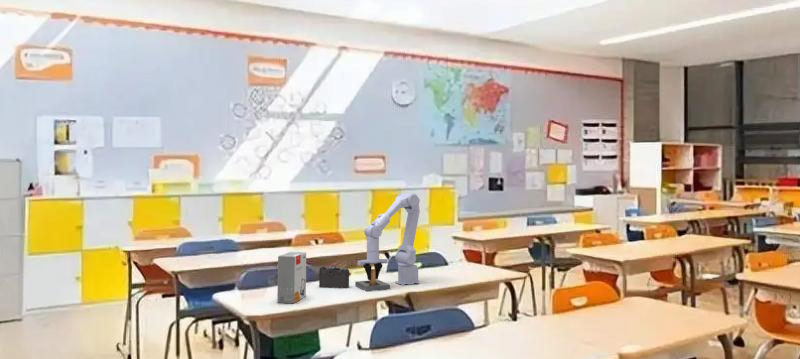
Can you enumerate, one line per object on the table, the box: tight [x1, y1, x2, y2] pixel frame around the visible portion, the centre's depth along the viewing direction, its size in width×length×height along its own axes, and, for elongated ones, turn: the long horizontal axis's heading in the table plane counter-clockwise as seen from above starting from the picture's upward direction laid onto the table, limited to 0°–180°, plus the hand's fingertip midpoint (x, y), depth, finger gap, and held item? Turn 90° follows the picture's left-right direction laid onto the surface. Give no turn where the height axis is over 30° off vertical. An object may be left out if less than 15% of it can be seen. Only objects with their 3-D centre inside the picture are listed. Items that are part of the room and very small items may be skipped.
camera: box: [318, 265, 350, 289], centre depth 328 cm, size 14×11×10 cm
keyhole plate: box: [354, 279, 391, 292], centre depth 324 cm, size 12×14×2 cm
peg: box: [368, 268, 376, 286], centre depth 324 cm, size 3×3×8 cm
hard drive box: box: [276, 251, 307, 304], centre depth 296 cm, size 16×8×20 cm, turn 168°
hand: (372, 279), depth 324 cm, fingers closed on peg, 3 cm apart
